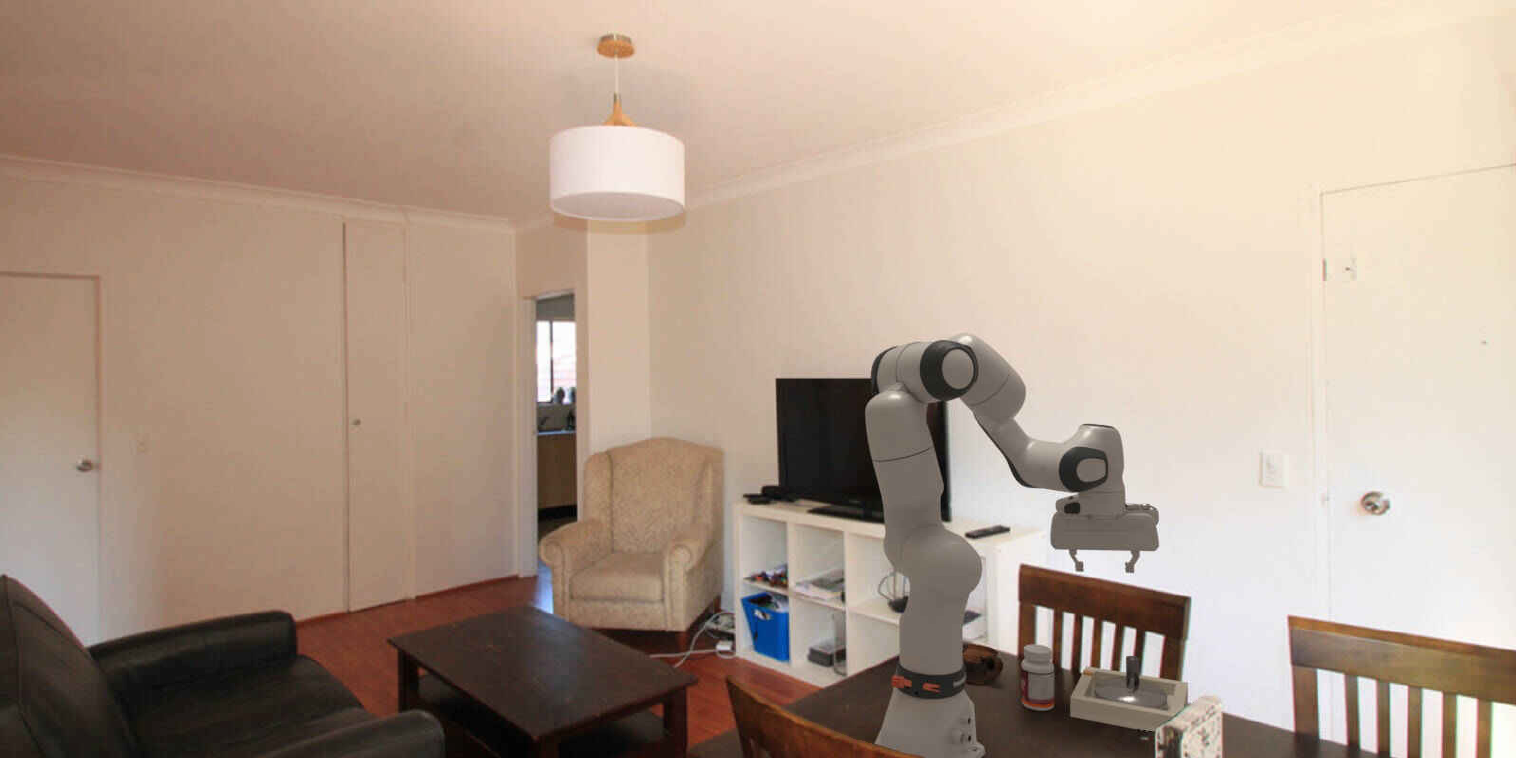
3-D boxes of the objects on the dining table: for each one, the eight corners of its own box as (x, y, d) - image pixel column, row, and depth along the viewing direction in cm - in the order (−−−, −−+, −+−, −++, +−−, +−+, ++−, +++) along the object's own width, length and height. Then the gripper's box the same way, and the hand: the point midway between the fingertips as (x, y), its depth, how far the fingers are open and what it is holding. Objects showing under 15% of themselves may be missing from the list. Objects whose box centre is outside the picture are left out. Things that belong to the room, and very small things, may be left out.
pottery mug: (945, 679, 178) (950, 641, 181) (976, 691, 181) (981, 654, 185) (986, 682, 168) (991, 641, 172) (1018, 694, 172) (1022, 655, 175)
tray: (1182, 737, 147) (1181, 715, 147) (1070, 716, 157) (1070, 695, 157) (1187, 700, 164) (1187, 680, 163) (1086, 683, 173) (1086, 663, 173)
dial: (1164, 719, 151) (1164, 682, 151) (1089, 706, 158) (1089, 669, 158) (1169, 695, 162) (1169, 660, 162) (1099, 683, 169) (1099, 649, 169)
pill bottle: (1021, 697, 166) (1021, 642, 166) (1054, 701, 164) (1053, 644, 164) (1021, 709, 160) (1020, 652, 160) (1054, 713, 158) (1054, 655, 158)
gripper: (1155, 500, 166) (1157, 569, 166) (1048, 500, 171) (1050, 566, 172) (1161, 506, 160) (1163, 577, 160) (1049, 506, 165) (1052, 574, 166)
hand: (1104, 571), depth 166 cm, fingers open, 8 cm apart
